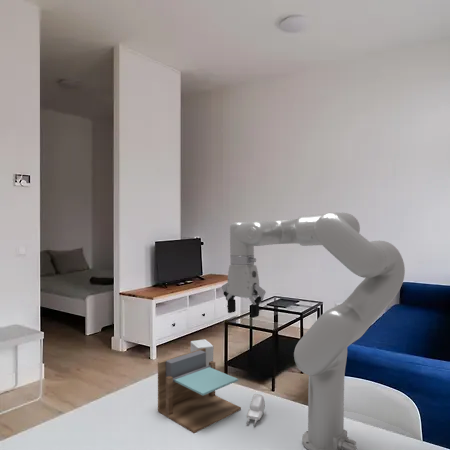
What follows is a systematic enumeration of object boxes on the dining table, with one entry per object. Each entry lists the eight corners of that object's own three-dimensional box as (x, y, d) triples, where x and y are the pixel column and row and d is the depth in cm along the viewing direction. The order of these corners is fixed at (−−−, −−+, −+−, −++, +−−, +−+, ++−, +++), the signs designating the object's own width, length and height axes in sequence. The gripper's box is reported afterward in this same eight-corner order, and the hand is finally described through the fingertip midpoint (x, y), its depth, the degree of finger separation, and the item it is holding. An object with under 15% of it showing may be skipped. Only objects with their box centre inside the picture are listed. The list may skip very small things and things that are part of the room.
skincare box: (189, 381, 153) (189, 340, 153) (205, 378, 156) (205, 338, 155) (197, 390, 145) (197, 347, 145) (214, 386, 148) (214, 345, 148)
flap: (239, 382, 128) (239, 363, 128) (201, 398, 117) (201, 378, 117) (201, 366, 141) (201, 349, 141) (163, 379, 130) (163, 361, 130)
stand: (240, 409, 131) (241, 361, 130) (194, 433, 117) (194, 378, 116) (204, 392, 143) (204, 348, 143) (157, 411, 129) (157, 362, 129)
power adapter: (258, 433, 120) (256, 421, 118) (245, 430, 122) (242, 418, 120) (267, 406, 128) (265, 394, 126) (254, 403, 130) (252, 392, 128)
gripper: (271, 261, 124) (272, 316, 125) (229, 258, 136) (230, 308, 136) (256, 263, 119) (257, 321, 119) (214, 260, 131) (215, 312, 131)
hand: (243, 314), depth 128 cm, fingers open, 9 cm apart
